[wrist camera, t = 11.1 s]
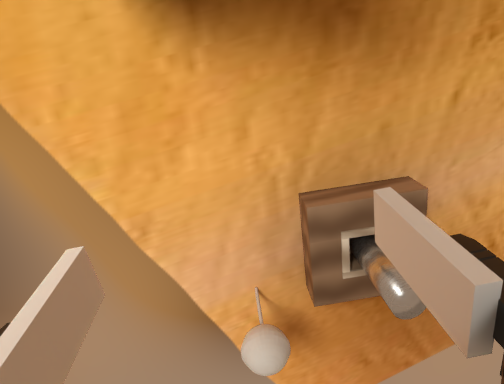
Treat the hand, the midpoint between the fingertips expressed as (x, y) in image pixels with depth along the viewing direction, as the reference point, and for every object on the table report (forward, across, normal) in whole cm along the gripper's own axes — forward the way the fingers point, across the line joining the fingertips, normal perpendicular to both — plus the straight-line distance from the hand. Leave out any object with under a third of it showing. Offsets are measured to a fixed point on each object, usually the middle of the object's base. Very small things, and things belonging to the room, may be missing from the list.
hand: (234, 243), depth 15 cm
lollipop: (+30, -1, -27) cm, 40 cm away
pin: (+29, +16, -21) cm, 39 cm away
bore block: (+30, +16, -21) cm, 40 cm away
